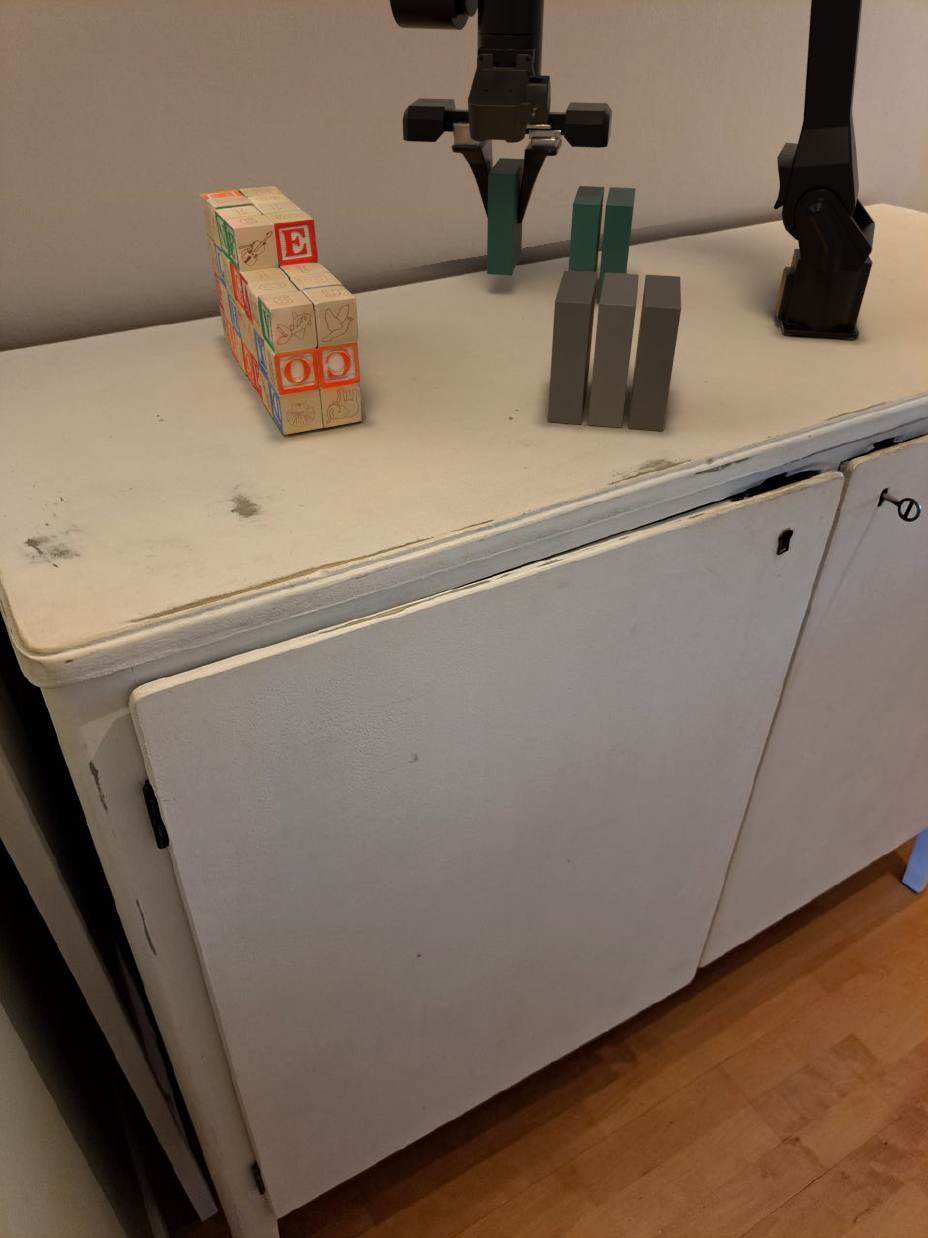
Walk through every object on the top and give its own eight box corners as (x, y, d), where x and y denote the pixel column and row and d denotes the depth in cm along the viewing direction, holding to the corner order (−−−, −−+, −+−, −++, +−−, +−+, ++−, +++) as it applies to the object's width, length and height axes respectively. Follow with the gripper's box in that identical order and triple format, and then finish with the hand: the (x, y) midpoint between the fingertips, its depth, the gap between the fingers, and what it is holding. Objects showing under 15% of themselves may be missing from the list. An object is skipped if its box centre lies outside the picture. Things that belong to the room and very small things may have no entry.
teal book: (521, 254, 93) (524, 158, 88) (512, 275, 88) (515, 174, 82) (497, 253, 93) (499, 157, 88) (486, 274, 88) (488, 173, 83)
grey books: (663, 392, 71) (680, 276, 66) (663, 431, 66) (681, 308, 61) (556, 384, 73) (564, 269, 67) (547, 422, 67) (554, 300, 62)
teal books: (625, 282, 93) (635, 187, 87) (622, 305, 88) (633, 205, 82) (572, 279, 94) (578, 185, 88) (566, 301, 88) (572, 203, 83)
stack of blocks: (365, 423, 67) (353, 250, 59) (282, 438, 65) (259, 262, 57) (291, 328, 82) (274, 182, 75) (223, 338, 81) (198, 189, 73)
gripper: (383, 39, 74) (392, 240, 83) (613, 43, 71) (596, 250, 81) (413, 27, 82) (419, 209, 92) (619, 30, 80) (603, 218, 89)
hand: (505, 221), depth 88 cm, fingers closed on teal book, 2 cm apart
